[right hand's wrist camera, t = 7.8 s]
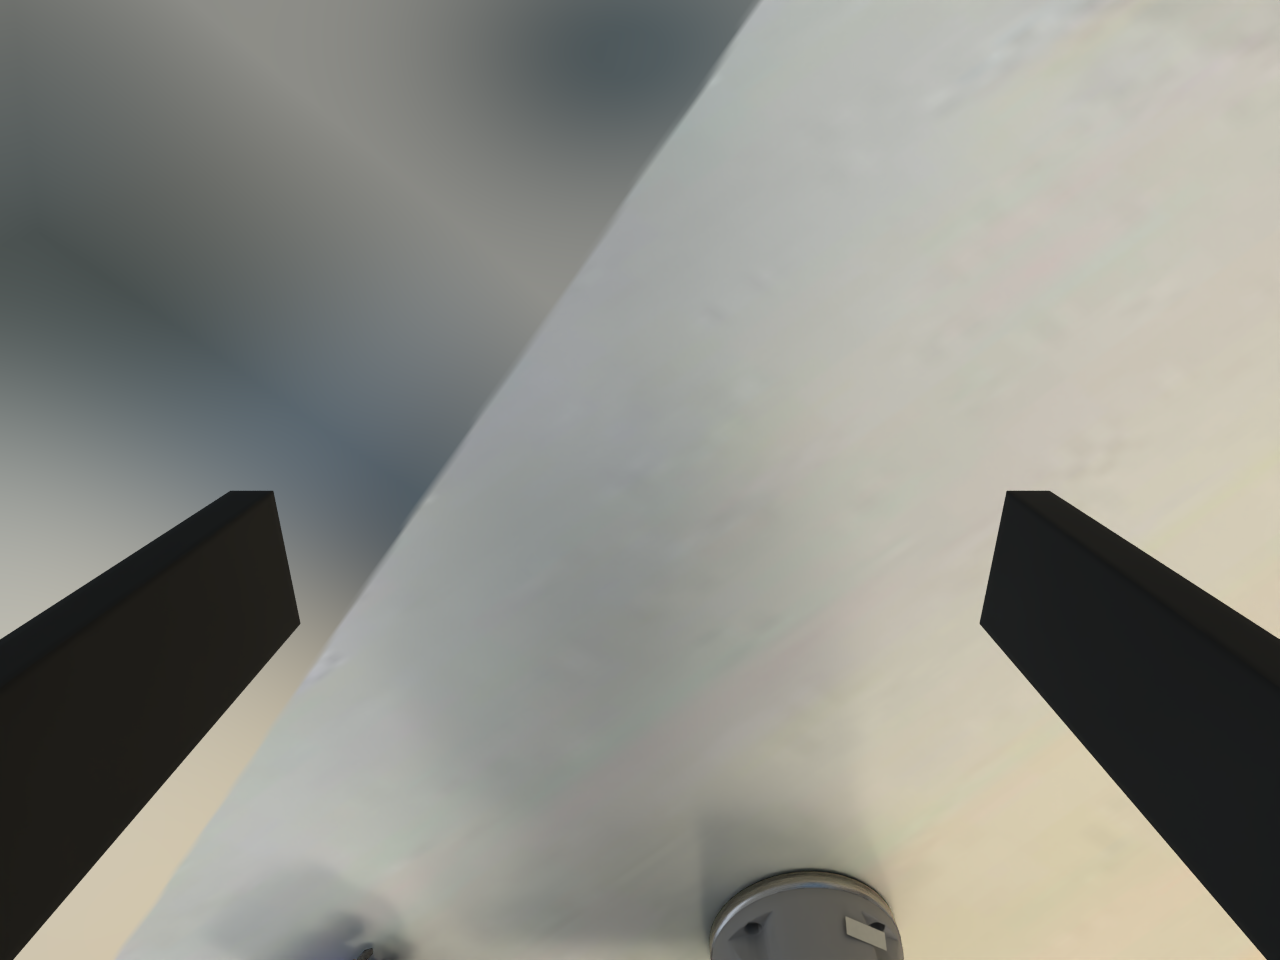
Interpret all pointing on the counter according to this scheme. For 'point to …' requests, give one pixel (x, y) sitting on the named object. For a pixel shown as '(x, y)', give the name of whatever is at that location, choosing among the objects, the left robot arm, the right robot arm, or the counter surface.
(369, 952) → the figurine character
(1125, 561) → the right robot arm
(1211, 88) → the counter surface
